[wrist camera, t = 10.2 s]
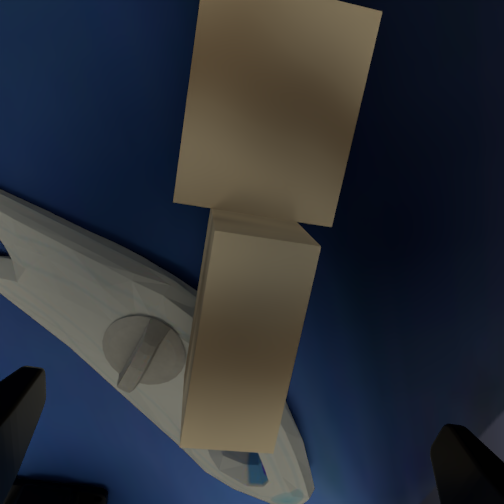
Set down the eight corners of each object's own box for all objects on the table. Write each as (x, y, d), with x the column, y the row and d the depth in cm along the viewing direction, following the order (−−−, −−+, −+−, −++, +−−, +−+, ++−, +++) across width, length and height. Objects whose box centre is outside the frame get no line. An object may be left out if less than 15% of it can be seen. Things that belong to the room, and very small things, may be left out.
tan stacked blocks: (287, 385, 18) (312, 456, 14) (151, 372, 17) (136, 444, 13) (372, 17, 14) (436, -22, 10) (204, -24, 13) (206, -84, 9)
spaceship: (359, 437, 24) (380, 517, 20) (266, 481, 26) (269, 562, 22) (28, 96, 16) (-48, 122, 12) (-76, 200, 17) (-171, 252, 14)
